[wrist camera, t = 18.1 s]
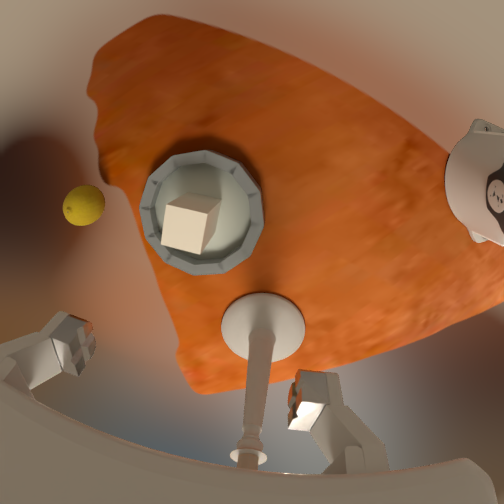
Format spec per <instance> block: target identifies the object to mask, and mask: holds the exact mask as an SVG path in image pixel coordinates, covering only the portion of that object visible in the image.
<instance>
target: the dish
mask: <svg viewBox="0 0 504 504" xmlns="http://www.w3.org/2000/svg"><path fill="white" fill-rule="evenodd" d="M187 192H191V193H195V194H200V195H204V196H209V197H213V198H218V199H222V202H221V207H220V212H219V216H218V221H217V226H216V231H215V234H214V235H213V237H212V238H211V240H210V241H209V243H208V244H207V245H206V247H205V248H204V250H203V251H202V253H201V254H196V253H192V252H188V251H184V250H180V249H176V248H172V247H169V246H165V245H161V238H162V231H163V223H164V216H165V209H166V204H168V203H169V202H171V201H173V200H175V199H176V198H178V197H180V196H182V195H183V194H185V193H187ZM139 207H140V208H139V210H140V215H141V220H142V225H143V229H144V234H145V238H146V240H147V241H148V242H149V243H150V245H151V246H152V247H153V248H154V250H155V251H156V252H157V253H158V255H159V256H160V257H161V258H162V259H163V261H164V262H165V263H167V264H169V265H171V266H174V267H176V268H178V269H180V270H182V271H185V272H187V273H189V274H191V275H208V274H223V273H226V272H227V271H229V270H230V269H232V268H233V267H235V266H236V265H238V264H239V263H241V262H242V261H244V260H245V259H247V258H248V257H250V256H251V253H252V251H253V249H254V247H255V245H256V243H257V241H258V238H259V236H260V234H261V232H262V230H263V228H264V224H265V216H264V207H263V198H262V189H261V187H260V186H259V185H258V183H257V182H256V181H255V179H254V178H253V177H252V175H251V174H250V173H249V172H248V170H247V169H246V168H245V166H244V165H243V164H242V162H240V161H238V160H235V159H233V158H230V157H228V156H226V155H223V154H221V153H218V152H216V151H213V150H202V151H196V152H190V153H184V154H179V155H173V156H171V157H170V158H169V159H168V160H167V161H166V162H165V163H163V164H162V165H161V166H160V167H159V168H158V169H157V170H156V171H155V172H153V173H152V174H151V175H150V176H149V177H148V180H147V183H146V186H145V189H144V192H143V196H142V199H141V202H140V206H139Z"/></svg>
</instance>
